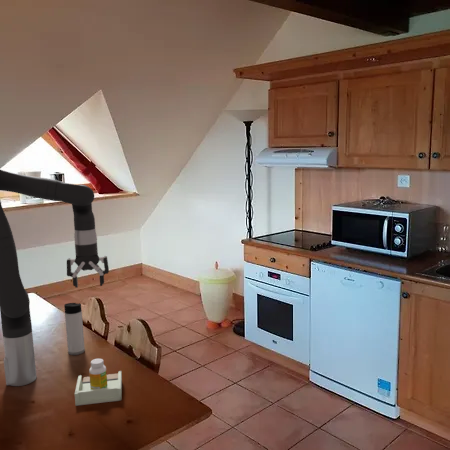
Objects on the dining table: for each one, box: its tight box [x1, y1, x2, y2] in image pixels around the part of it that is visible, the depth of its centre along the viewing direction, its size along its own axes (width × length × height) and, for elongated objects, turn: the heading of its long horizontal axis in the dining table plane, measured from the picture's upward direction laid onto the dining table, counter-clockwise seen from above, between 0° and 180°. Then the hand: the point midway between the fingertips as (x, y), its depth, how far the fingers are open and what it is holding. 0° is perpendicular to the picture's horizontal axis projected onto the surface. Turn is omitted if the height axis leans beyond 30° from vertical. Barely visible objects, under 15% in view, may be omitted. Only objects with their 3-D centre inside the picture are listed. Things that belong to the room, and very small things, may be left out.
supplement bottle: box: [88, 358, 108, 390], centre depth 157 cm, size 5×5×10 cm
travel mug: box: [64, 302, 86, 356], centre depth 187 cm, size 6×7×20 cm
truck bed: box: [74, 370, 123, 406], centre depth 159 cm, size 14×17×4 cm
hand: (89, 286), depth 172 cm, fingers open, 8 cm apart
